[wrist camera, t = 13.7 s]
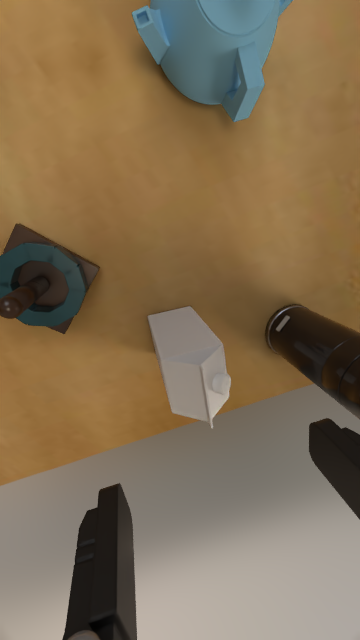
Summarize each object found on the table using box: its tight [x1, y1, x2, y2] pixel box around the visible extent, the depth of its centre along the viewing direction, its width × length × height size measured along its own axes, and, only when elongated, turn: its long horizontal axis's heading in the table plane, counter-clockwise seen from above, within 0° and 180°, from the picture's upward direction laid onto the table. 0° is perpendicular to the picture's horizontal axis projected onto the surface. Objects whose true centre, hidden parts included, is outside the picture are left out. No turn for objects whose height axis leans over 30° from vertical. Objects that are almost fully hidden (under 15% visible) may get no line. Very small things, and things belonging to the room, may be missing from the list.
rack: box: [0, 224, 100, 334], centre depth 31 cm, size 11×11×14 cm
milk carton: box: [148, 306, 231, 429], centre depth 35 cm, size 7×7×19 cm
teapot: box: [132, 0, 293, 122], centre depth 27 cm, size 15×15×11 cm
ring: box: [0, 242, 88, 327], centre depth 34 cm, size 11×11×3 cm
